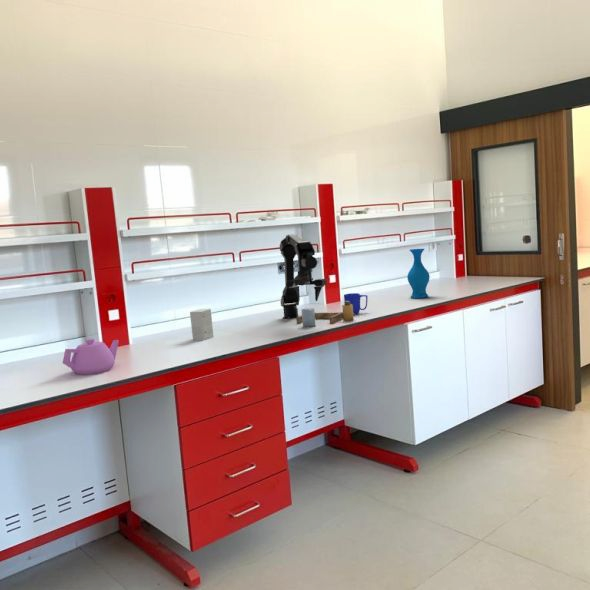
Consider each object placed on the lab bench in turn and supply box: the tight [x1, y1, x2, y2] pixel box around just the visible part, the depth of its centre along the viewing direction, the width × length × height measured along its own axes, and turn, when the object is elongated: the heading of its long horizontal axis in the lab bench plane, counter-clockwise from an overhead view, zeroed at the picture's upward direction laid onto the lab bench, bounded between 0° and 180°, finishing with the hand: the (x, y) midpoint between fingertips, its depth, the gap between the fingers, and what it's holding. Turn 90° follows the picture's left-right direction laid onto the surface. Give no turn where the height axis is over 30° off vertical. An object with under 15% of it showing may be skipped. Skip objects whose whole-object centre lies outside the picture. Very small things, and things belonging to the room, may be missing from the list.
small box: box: [189, 308, 214, 341], centre depth 276 cm, size 8×6×13 cm
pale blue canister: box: [301, 307, 316, 328], centre depth 288 cm, size 6×9×8 cm
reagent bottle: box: [341, 300, 355, 322], centre depth 294 cm, size 5×5×9 cm
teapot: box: [62, 338, 120, 376], centre depth 227 cm, size 22×16×12 cm
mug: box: [343, 292, 369, 315], centre depth 313 cm, size 8×12×10 cm
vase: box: [407, 248, 431, 299], centre depth 352 cm, size 12×13×28 cm
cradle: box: [295, 311, 343, 325], centre depth 299 cm, size 19×14×3 cm
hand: (307, 301), depth 286 cm, fingers open, 9 cm apart
